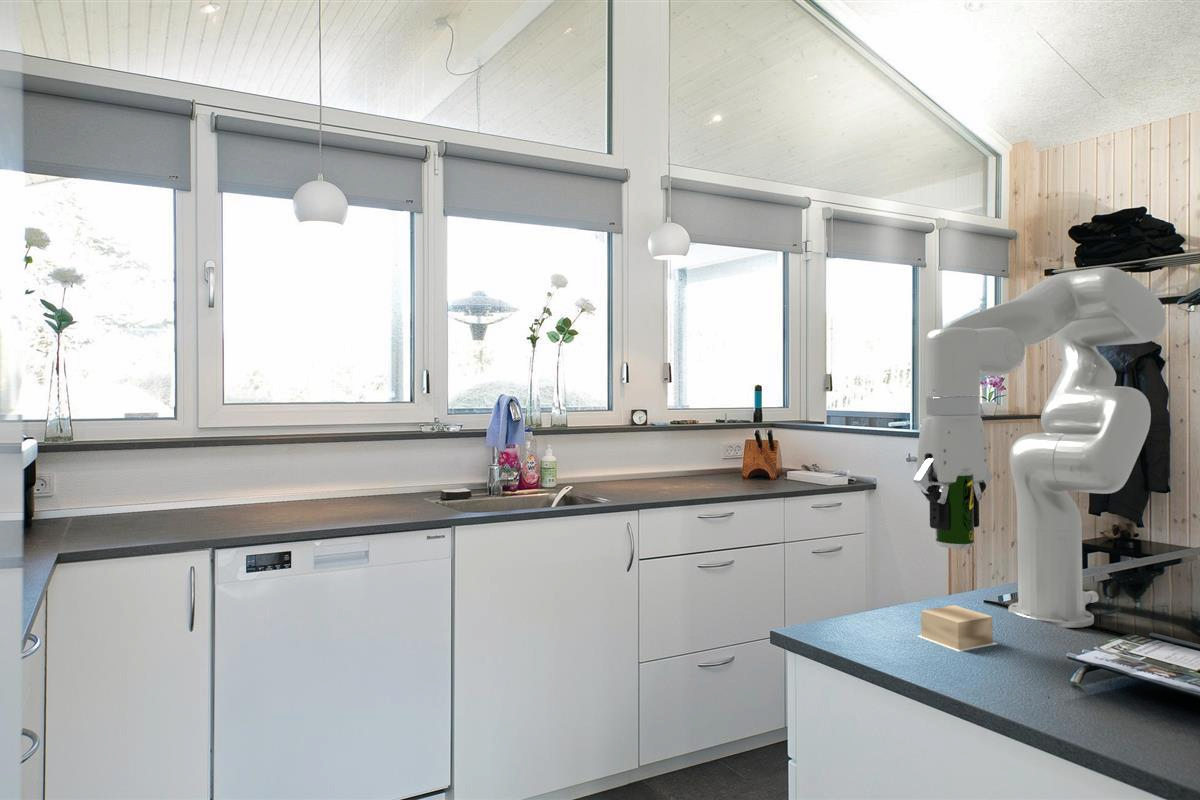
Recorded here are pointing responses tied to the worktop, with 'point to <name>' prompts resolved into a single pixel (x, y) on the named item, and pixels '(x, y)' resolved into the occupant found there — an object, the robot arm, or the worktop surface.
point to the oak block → (957, 627)
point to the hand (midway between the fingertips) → (954, 526)
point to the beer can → (959, 513)
